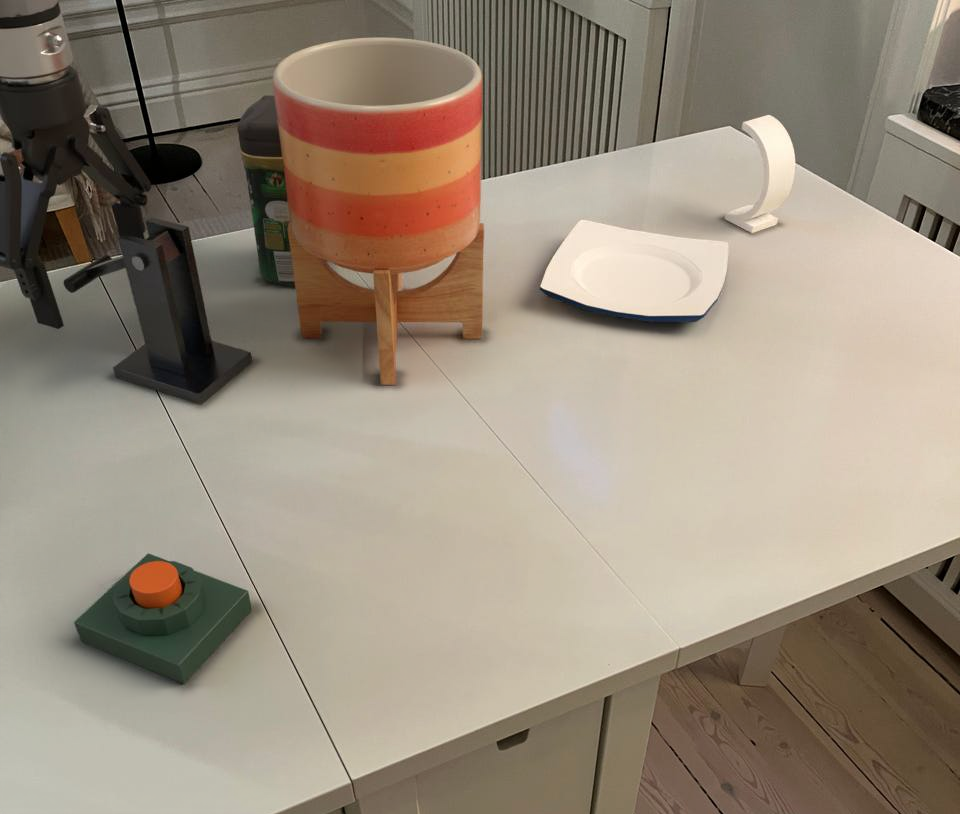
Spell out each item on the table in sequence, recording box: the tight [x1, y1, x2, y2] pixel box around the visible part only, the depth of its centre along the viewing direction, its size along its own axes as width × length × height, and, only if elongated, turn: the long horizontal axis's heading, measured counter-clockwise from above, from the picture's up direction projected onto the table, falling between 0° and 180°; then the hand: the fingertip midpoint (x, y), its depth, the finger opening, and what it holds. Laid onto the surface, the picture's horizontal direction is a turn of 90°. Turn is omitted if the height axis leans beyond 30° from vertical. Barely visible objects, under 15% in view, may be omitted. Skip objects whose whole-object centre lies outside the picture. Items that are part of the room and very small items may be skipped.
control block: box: [73, 553, 253, 685], centre depth 80 cm, size 10×9×4 cm
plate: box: [539, 219, 730, 323], centre depth 120 cm, size 20×20×3 cm
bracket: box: [112, 217, 254, 405], centre depth 102 cm, size 11×9×15 cm
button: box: [129, 561, 182, 609], centre depth 78 cm, size 4×4×2 cm
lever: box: [62, 231, 180, 294], centre depth 100 cm, size 13×6×2 cm, turn 64°
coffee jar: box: [237, 94, 328, 286], centre depth 116 cm, size 10×8×19 cm
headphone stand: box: [724, 114, 796, 234], centre depth 128 cm, size 5×6×12 cm
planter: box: [272, 37, 485, 386], centre depth 102 cm, size 20×20×27 cm
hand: (97, 294), depth 105 cm, fingers open, 13 cm apart
